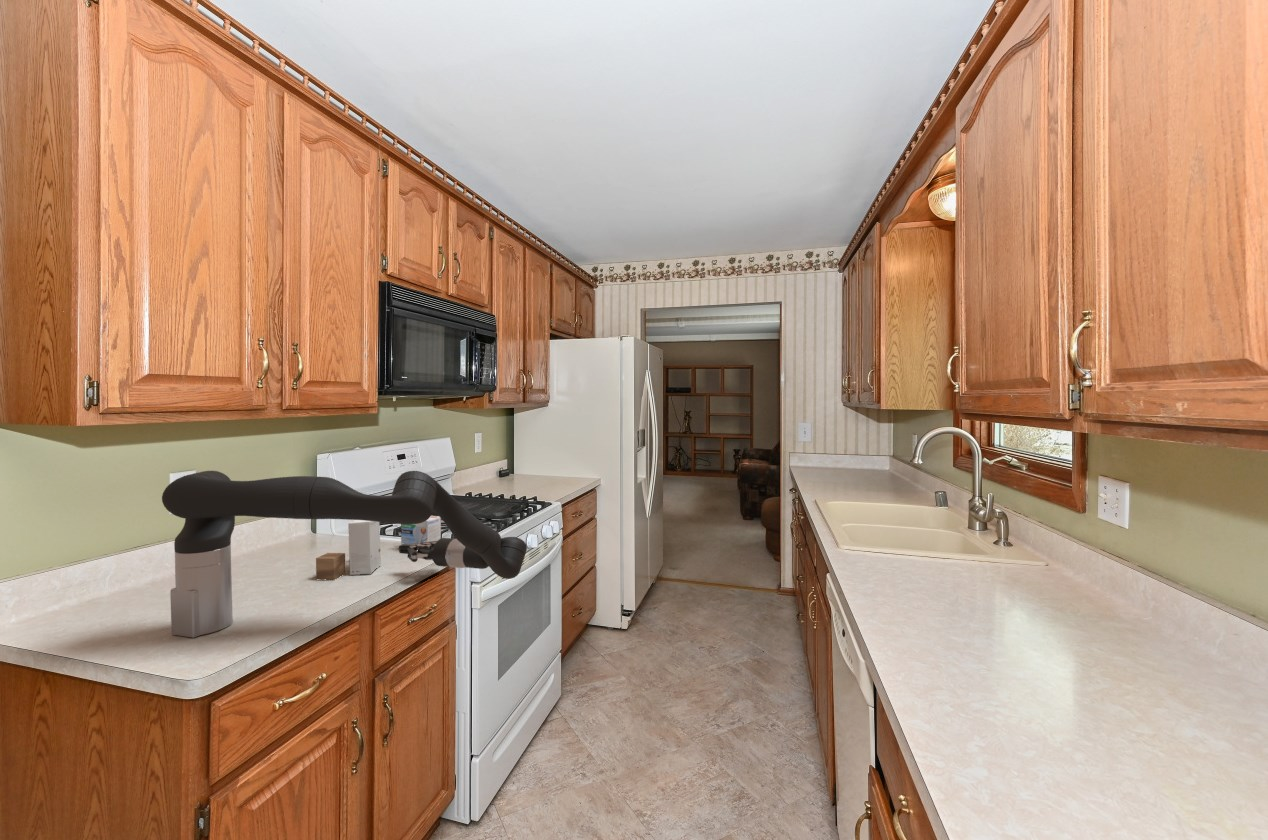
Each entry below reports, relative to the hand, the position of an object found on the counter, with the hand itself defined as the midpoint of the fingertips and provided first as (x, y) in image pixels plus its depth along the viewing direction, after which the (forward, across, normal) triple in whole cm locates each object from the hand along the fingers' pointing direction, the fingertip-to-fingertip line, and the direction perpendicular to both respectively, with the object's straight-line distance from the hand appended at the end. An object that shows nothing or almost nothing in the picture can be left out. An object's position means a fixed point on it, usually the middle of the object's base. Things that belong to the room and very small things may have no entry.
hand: (400, 548), depth 146 cm
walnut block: (+17, +7, +7) cm, 20 cm away
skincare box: (+12, 0, +7) cm, 14 cm away
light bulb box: (+10, -22, +8) cm, 25 cm away
